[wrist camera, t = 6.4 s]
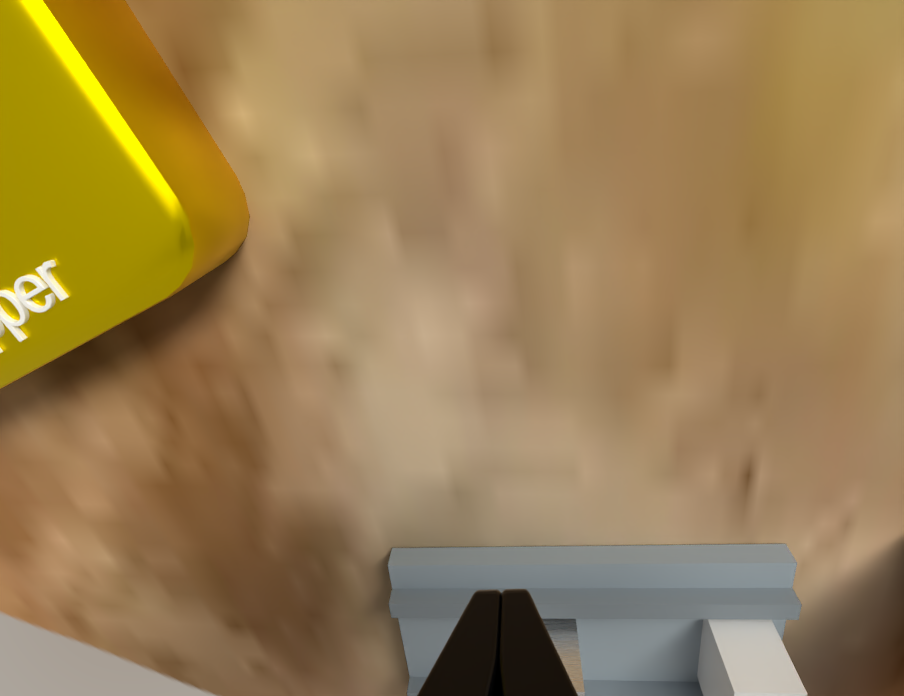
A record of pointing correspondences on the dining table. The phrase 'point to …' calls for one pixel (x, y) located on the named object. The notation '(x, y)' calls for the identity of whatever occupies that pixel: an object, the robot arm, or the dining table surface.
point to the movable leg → (567, 648)
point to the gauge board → (621, 611)
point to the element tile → (98, 180)
